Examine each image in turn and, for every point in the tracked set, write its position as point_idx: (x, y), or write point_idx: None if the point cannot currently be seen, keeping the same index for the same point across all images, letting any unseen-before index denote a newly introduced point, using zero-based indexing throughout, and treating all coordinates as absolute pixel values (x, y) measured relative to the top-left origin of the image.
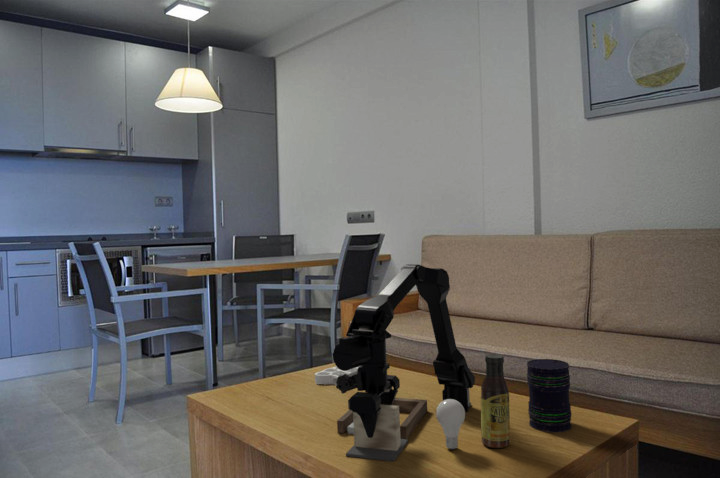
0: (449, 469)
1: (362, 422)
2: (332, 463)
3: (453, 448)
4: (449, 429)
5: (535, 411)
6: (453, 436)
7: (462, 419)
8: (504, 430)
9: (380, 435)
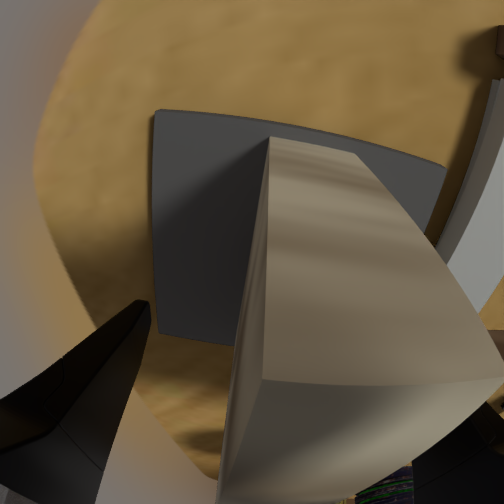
0: (163, 416)
1: (52, 364)
2: (71, 75)
3: None
4: None
5: (374, 500)
6: None
7: None
8: None
9: (238, 338)
